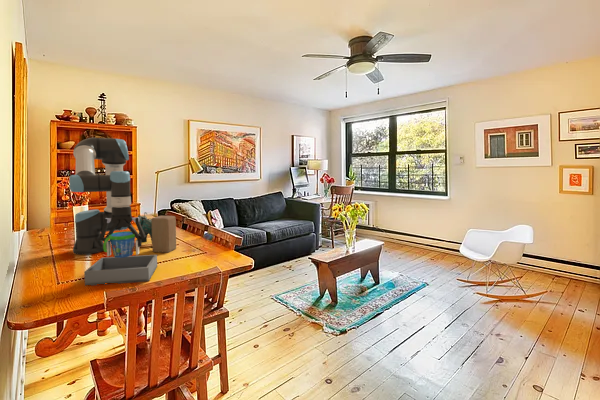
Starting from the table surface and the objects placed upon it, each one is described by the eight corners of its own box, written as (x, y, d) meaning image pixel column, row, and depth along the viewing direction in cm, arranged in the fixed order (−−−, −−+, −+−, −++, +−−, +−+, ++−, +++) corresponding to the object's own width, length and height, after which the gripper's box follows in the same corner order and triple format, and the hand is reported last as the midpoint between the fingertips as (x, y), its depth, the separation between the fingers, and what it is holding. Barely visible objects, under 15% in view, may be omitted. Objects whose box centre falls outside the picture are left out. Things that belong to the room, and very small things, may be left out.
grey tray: (85, 285, 127) (84, 271, 126) (102, 269, 146) (101, 257, 145) (148, 281, 133) (148, 267, 132) (157, 266, 152) (156, 254, 151)
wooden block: (177, 248, 185) (176, 215, 183) (168, 253, 175) (167, 218, 173) (161, 247, 186) (160, 215, 184) (151, 252, 176) (150, 217, 174)
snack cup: (108, 262, 129) (107, 238, 128) (99, 257, 136) (98, 234, 135) (146, 254, 141) (145, 232, 140) (136, 250, 148) (135, 229, 146)
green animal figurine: (135, 242, 199) (134, 211, 196) (145, 240, 204) (144, 210, 202) (152, 247, 187) (151, 214, 185) (162, 245, 193) (161, 213, 190)
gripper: (87, 207, 129) (90, 258, 132) (148, 206, 135) (150, 255, 138) (94, 205, 136) (97, 253, 139) (151, 204, 143) (153, 251, 145)
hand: (123, 254), depth 138 cm, fingers closed on snack cup, 11 cm apart
